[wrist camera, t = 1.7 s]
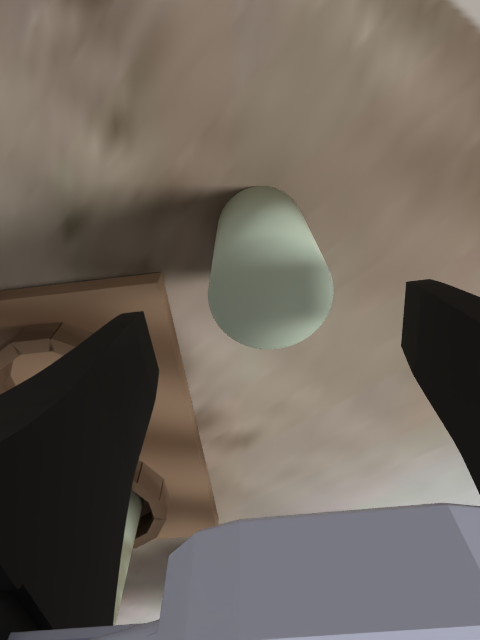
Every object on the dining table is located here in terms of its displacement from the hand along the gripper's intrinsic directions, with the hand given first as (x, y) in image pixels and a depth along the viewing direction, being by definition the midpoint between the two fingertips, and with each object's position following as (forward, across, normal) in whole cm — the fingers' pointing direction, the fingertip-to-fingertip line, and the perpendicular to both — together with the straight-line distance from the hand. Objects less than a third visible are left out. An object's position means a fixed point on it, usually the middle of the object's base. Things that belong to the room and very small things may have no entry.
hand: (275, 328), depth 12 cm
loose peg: (+9, 0, 0) cm, 9 cm away
